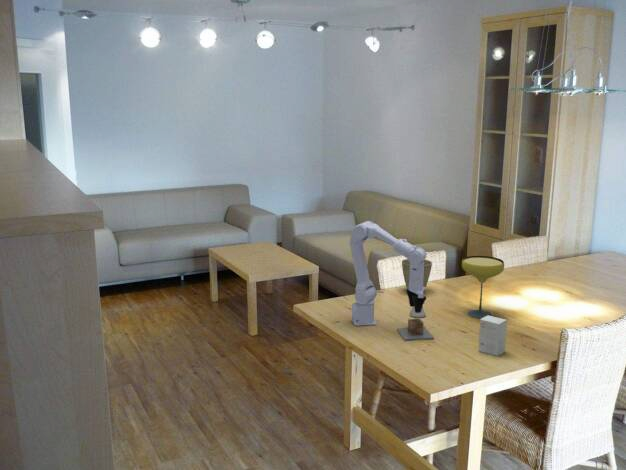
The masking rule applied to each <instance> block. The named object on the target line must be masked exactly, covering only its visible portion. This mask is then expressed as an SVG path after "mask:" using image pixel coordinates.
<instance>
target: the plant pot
mask: <svg viewBox="0 0 626 470" xmlns="http://www.w3.org/2000/svg"><path fill="white" fill-rule="evenodd" d="M422 262H423V261H422ZM401 267H402V275H403V280H404V283H405V287H406V289H409V275H410V262H409V261H408V258H405V259H402V260H401ZM432 267H433V262H432V261H431V260H429V259H425V260H424V279H423V287H425V288H426V287H427V286H428V282H429V279H430V275H431V271H432ZM426 289H427V288H426ZM424 292H425V290H423V293H424Z"/></svg>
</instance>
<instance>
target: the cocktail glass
mask: <svg viewBox="0 0 626 470" xmlns="http://www.w3.org/2000/svg"><path fill="white" fill-rule="evenodd" d="M461 268H462V269H463V270H464V271H465V272H466V274H469V276H472V277H473V278H476V279H477V281H478V282H479V283H480V296H479V307H478V309H472V310H469V311H468V312H467V315H468V316H469V317H472V318H475V319H479V320H480V319H482V318H484V317H486V316H488V315H489V316H493V313H492V312H490V311H487V310H484V309H483V307H482V305H483V304H482V302H483V300H482V299H483V283H485V282H486V281H487V280H488V279H490V278H493V277H497V276H498V275H501V274H502V272H504V271H505V270H504V269H505V261H504V260H503V259H500V258H497V257H494V256H488V255H470V256H466V257H463V258H462V260H461Z"/></svg>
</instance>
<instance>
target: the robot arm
mask: <svg viewBox="0 0 626 470" xmlns="http://www.w3.org/2000/svg"><path fill="white" fill-rule="evenodd" d="M374 238H378V240H381V241H382V242H384V243H386V244H387V245H390V246H392V248H393V250H394V252H396V253H398V254H399V255H401V256H403V257H404V258H405V259H408V261H409V262H410V275H409V289H407V288H406V289H405V292H406V294H407V297H408V302H409V306H410V307H411V308H412V307H415V312H416V313H421V310H422V306H423V305H424V303H425V302H426V300H427V296H425V295H424V294H425V293H424V292H423V290H424V291H426V290H427V288H425V287H423V279H424V260H426V258H427V252H426V250H425V249H424V248H423V247H418V246H416V245H413V244H411V243H410V242H409V241H408V240H407V239H406V238H398V239H397V238H396V237H395V236H393V235H392V234H390V233H389V232H388V231H386V230H385V229H383V228H382V227H380V226H379V225H378V224H377V223H374V222H373V221H372V220H366V221H364V222H362V223H359V224H358V223H357V224H356V225H355V226H354V227H353V228H352V229H351V236H350V240H349V247H350V251H351V257H352V262H353V267H354V273H355V276H356V277H355V278H356V286H355V288H354V290H355V294H354V299H355V301H356V302H354V303H352V304H351V319H350V320H351V321H352V323H353V326H356V327H357V326H358V327H359V326H373V325H374V326H376V325H377V322H376V320H375V298H376V297H377V296H378V293H377V289H376V287H375V286H374V282H373V281H372V280H371V279H370V276H369V275H370V274H369V268H368V265H367V260H366V254H365V249H364V243H365V242H366V240H368V239H374ZM422 261H423V262H422ZM423 307H424V306H423Z"/></svg>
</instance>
